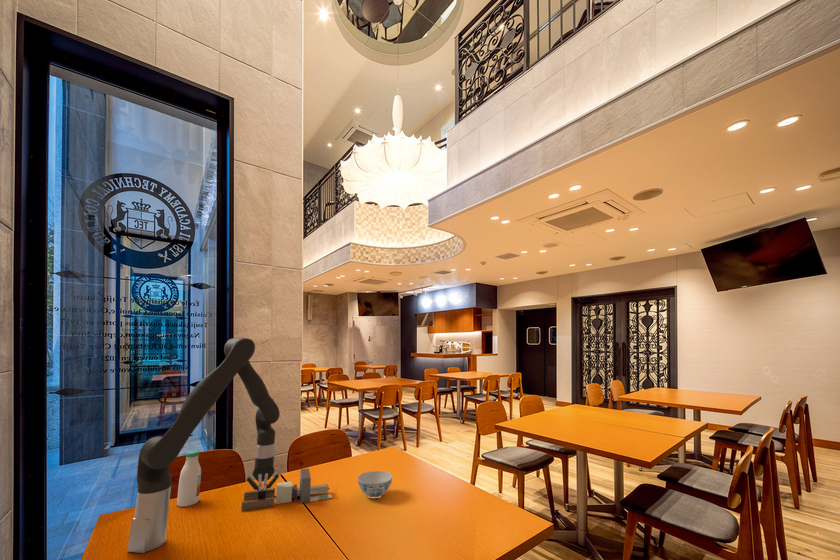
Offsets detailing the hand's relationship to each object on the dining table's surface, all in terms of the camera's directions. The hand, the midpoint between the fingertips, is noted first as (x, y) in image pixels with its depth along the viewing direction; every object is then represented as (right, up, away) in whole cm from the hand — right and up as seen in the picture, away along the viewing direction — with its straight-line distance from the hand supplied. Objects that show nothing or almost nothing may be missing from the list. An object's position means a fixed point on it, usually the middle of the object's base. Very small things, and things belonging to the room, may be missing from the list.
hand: (261, 499), depth 152 cm
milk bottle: (-30, -1, 0) cm, 30 cm away
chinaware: (+46, -3, +7) cm, 46 cm away
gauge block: (+8, -2, +3) cm, 9 cm away
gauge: (+10, -2, +4) cm, 10 cm away
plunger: (+19, -2, +6) cm, 20 cm away
